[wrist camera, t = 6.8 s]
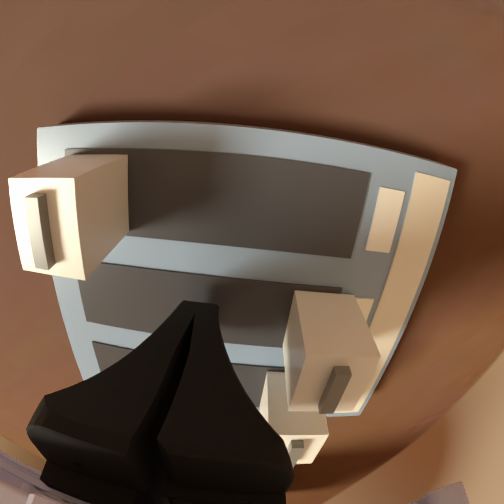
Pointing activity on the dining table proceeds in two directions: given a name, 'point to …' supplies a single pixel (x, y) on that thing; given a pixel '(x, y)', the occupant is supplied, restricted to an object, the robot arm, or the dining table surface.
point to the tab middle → (327, 352)
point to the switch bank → (251, 236)
